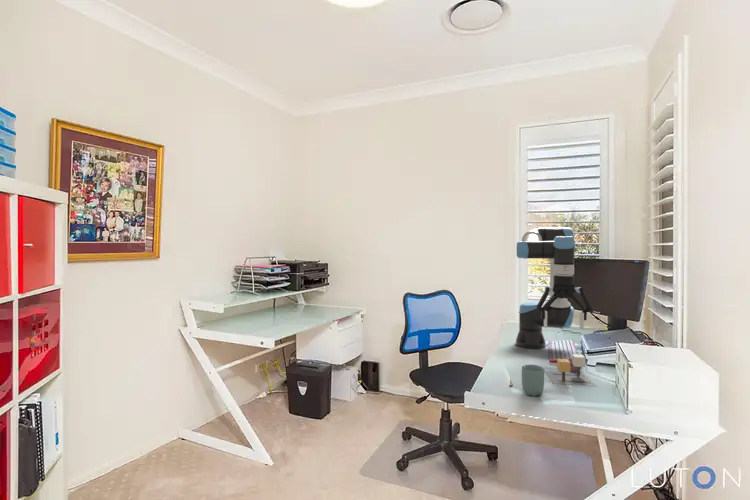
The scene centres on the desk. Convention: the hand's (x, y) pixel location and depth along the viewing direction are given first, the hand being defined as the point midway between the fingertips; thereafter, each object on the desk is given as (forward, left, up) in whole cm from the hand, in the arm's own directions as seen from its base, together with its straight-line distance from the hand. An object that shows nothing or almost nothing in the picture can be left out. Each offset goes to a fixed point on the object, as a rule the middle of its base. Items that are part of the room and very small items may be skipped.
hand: (563, 327), depth 162 cm
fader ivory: (-8, +8, -21) cm, 24 cm away
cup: (+13, -14, -23) cm, 30 cm away
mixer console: (-4, +3, -23) cm, 23 cm away
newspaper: (-4, -16, -24) cm, 29 cm away
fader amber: (0, 0, -21) cm, 21 cm away
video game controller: (-17, +8, -23) cm, 29 cm away
